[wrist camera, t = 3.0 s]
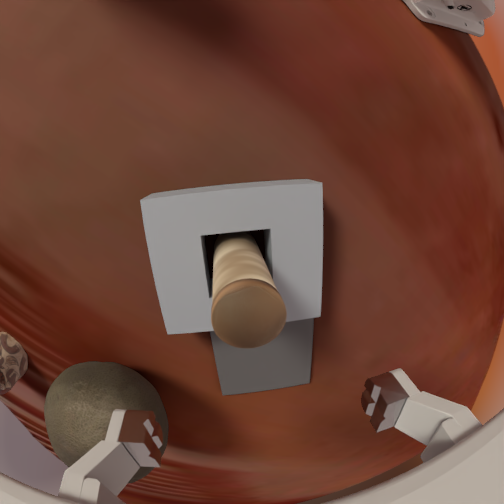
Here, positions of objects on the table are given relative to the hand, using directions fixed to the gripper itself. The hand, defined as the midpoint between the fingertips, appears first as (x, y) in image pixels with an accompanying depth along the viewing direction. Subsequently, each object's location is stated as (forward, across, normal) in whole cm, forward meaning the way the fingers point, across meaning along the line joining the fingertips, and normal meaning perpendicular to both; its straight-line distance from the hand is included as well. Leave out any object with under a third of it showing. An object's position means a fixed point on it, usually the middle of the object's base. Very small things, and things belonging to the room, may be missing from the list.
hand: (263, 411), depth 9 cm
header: (+18, 0, 0) cm, 18 cm away
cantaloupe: (+19, +16, +15) cm, 28 cm away
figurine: (+19, +35, +12) cm, 41 cm away
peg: (+18, 0, 0) cm, 18 cm away
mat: (+18, -2, +13) cm, 22 cm away
